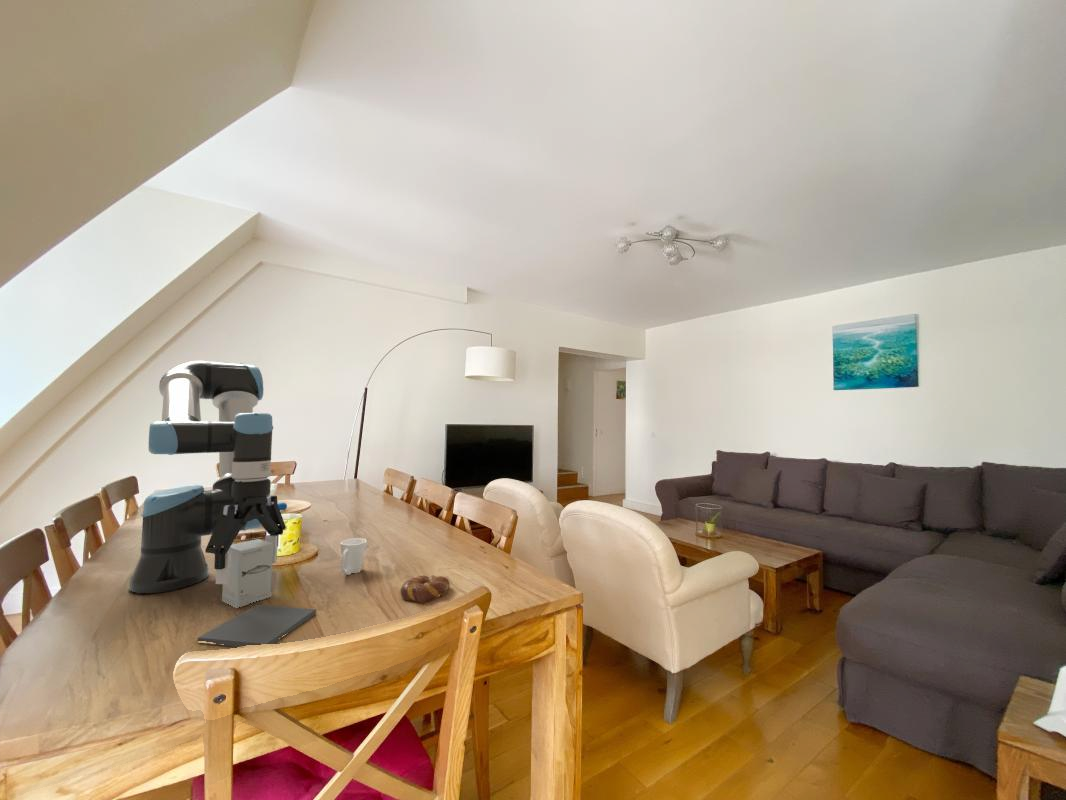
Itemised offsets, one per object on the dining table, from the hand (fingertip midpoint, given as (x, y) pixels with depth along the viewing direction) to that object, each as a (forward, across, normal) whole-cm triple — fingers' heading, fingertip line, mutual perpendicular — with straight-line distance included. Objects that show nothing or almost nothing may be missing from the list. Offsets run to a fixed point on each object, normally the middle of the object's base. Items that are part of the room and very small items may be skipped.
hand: (248, 572), depth 97 cm
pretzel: (+7, +11, -38) cm, 40 cm away
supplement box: (+7, 0, 0) cm, 7 cm away
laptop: (+7, -11, -13) cm, 18 cm away
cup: (+6, +19, -14) cm, 25 cm away
